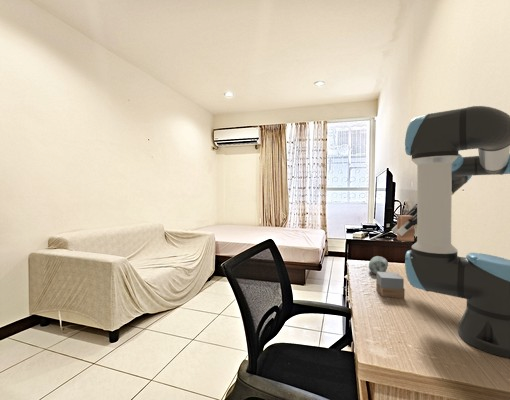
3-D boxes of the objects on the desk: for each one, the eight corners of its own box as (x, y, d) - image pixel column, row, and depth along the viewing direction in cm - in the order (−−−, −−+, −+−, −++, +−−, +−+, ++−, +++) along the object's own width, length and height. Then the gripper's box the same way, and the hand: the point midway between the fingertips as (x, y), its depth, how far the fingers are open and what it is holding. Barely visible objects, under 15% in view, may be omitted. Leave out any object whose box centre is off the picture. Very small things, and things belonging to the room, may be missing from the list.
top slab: (403, 289, 100) (403, 278, 100) (381, 287, 102) (381, 277, 102) (397, 282, 108) (397, 272, 108) (376, 280, 110) (376, 271, 110)
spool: (390, 272, 124) (380, 252, 128) (371, 278, 128) (362, 258, 132) (394, 272, 134) (385, 253, 139) (376, 277, 138) (368, 259, 143)
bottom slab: (404, 299, 101) (404, 288, 100) (382, 297, 102) (382, 287, 102) (396, 291, 108) (396, 282, 108) (376, 290, 110) (376, 281, 110)
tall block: (414, 241, 112) (414, 216, 112) (401, 241, 113) (402, 216, 113) (408, 239, 117) (409, 215, 117) (397, 239, 118) (397, 215, 118)
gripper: (456, 202, 104) (412, 242, 106) (432, 201, 122) (394, 235, 124) (442, 189, 104) (398, 229, 107) (420, 190, 122) (383, 224, 125)
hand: (396, 232), depth 116 cm, fingers closed on tall block, 5 cm apart
